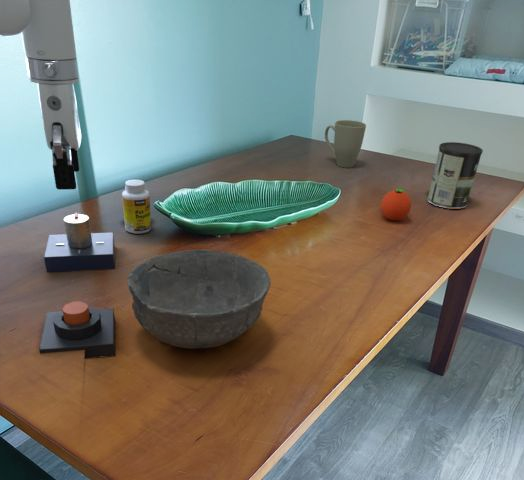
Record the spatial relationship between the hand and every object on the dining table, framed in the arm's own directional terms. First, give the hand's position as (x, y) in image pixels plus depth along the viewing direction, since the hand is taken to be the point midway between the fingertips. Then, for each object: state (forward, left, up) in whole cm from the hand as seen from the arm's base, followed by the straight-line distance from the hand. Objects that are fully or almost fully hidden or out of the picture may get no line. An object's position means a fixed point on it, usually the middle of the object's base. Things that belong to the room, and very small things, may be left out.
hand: (68, 179), depth 93 cm
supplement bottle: (+11, +13, -15) cm, 23 cm away
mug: (+73, +57, -15) cm, 94 cm away
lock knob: (0, 0, -12) cm, 12 cm away
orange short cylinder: (+1, -28, -12) cm, 30 cm away
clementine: (+71, +14, -15) cm, 74 cm away
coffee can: (+90, +23, -15) cm, 94 cm away
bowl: (+19, -29, -15) cm, 38 cm away
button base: (+1, -28, -15) cm, 32 cm away
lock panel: (0, 0, -15) cm, 15 cm away
